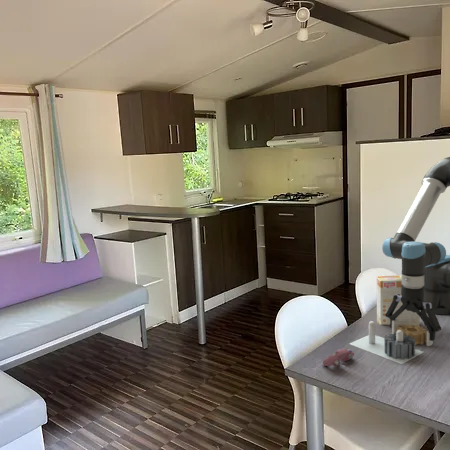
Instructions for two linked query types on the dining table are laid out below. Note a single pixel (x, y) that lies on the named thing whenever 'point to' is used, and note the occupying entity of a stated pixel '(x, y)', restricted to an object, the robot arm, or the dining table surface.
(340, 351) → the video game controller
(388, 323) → the coffeecake box
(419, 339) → the wooden gear
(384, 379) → the dining table surface
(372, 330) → the gear board
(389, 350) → the gear
